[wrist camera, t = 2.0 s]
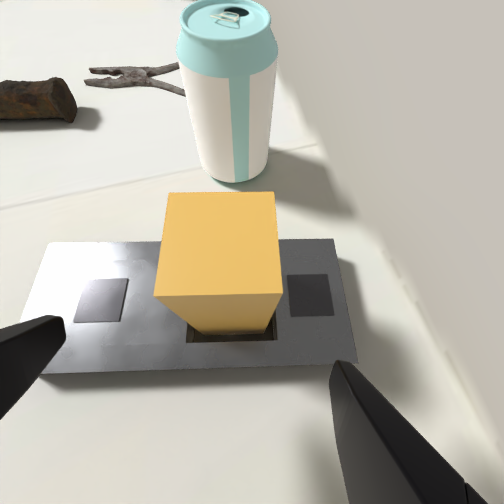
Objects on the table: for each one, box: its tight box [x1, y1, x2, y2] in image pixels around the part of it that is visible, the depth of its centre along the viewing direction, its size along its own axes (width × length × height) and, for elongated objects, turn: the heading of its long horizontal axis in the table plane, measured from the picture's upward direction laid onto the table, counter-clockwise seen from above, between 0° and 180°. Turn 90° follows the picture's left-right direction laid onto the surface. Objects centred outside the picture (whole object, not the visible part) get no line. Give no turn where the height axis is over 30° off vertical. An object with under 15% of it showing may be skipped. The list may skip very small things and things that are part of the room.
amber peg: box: [153, 192, 283, 335], centre depth 14 cm, size 4×4×11 cm
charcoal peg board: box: [20, 239, 358, 374], centre depth 18 cm, size 9×22×3 cm, turn 92°
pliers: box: [84, 62, 186, 97], centre depth 32 cm, size 10×1×20 cm
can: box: [176, 0, 278, 182], centre depth 21 cm, size 7×7×12 cm
